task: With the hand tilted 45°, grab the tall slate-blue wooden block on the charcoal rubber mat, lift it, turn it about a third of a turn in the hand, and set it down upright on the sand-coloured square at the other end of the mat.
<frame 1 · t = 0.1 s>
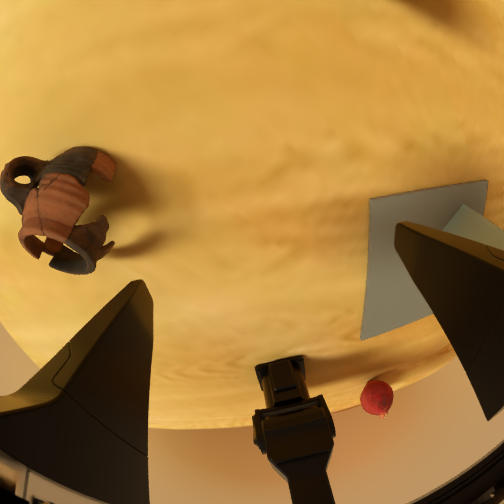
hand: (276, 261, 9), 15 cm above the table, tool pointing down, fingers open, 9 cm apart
mat: (429, 262, 30), on the table
block: (457, 230, 27), resting on mat
pomegranate: (369, 380, 42), on the table
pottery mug: (74, 191, 21), on the table
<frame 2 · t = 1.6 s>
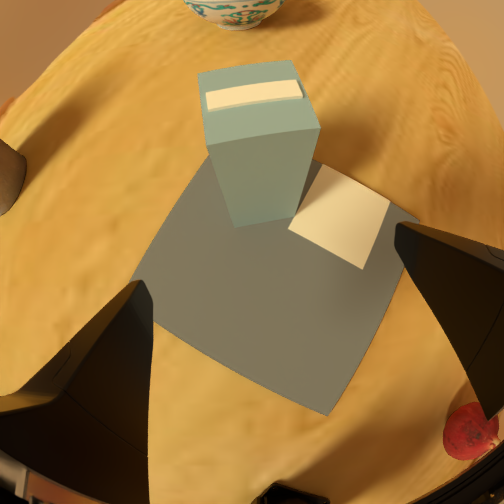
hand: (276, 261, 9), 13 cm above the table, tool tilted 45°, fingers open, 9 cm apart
chinaware: (239, 21, 30), on the table
mat: (278, 259, 23), on the table
block: (258, 194, 23), resting on mat
pomegranate: (449, 420, 19), on the table
pillar candle: (7, 186, 26), on the table
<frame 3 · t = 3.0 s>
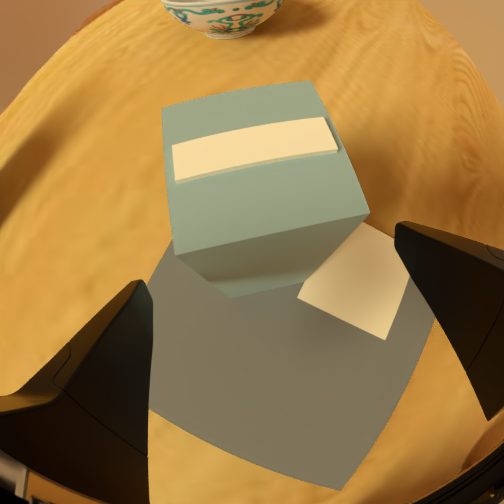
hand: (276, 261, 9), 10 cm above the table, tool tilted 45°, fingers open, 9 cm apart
chinaware: (229, 29, 27), on the table
mat: (285, 334, 18), on the table
block: (259, 253, 19), resting on mat
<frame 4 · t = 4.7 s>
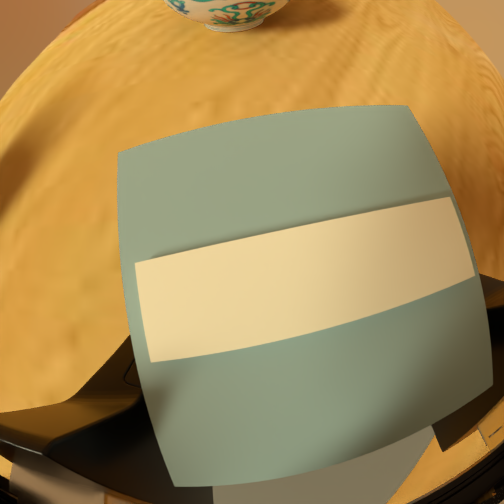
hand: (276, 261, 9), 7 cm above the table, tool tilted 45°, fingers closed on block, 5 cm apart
chinaware: (234, 20, 23), on the table
mat: (305, 401, 14), on the table
block: (276, 309, 15), resting on mat, touching gripper
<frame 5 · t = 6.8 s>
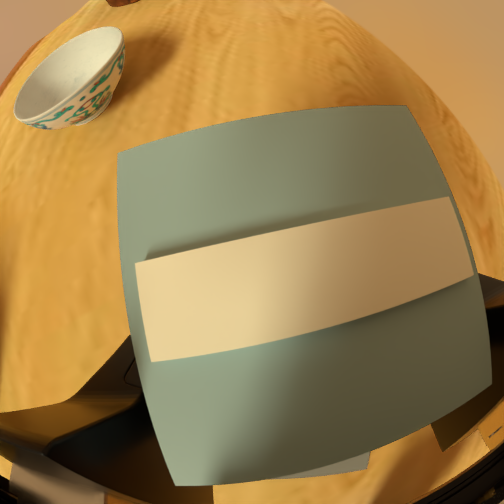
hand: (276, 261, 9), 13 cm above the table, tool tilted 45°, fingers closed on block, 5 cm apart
chinaware: (91, 105, 27), on the table
mat: (255, 380, 20), on the table
block: (276, 309, 15), point 6 cm above the table, touching gripper
when the fingers open (8 cm above the table, at t = 9.1 s): block drops 1 cm, resting on mat.
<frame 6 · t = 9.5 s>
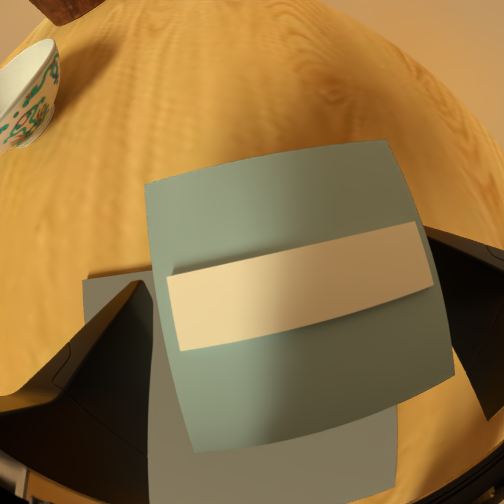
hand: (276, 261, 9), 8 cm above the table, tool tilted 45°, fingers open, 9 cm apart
brown flower pot: (82, 9, 32), on the table
chinaware: (35, 125, 22), on the table
mat: (240, 410, 15), on the table
block: (275, 310, 16), point 1 cm above the table, touching mat
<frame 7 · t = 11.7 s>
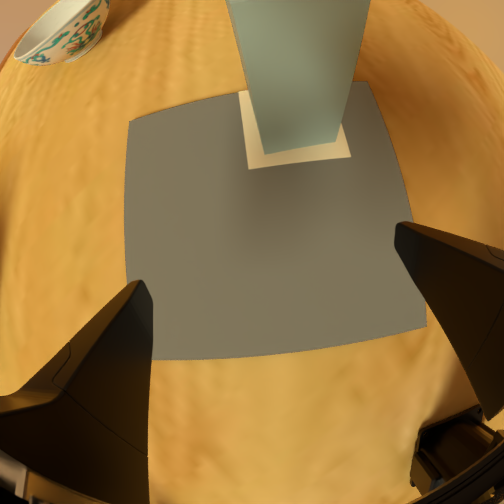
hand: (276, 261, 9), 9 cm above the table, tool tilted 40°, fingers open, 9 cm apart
chinaware: (83, 46, 25), on the table
mat: (261, 205, 18), on the table
block: (291, 118, 18), point 1 cm above the table, touching mat
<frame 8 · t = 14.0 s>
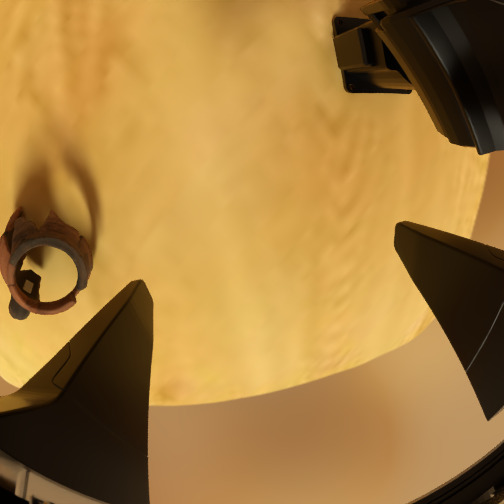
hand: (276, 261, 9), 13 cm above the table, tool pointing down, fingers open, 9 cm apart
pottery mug: (50, 248, 21), on the table
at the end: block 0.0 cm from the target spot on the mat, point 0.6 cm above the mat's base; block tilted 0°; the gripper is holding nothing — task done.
